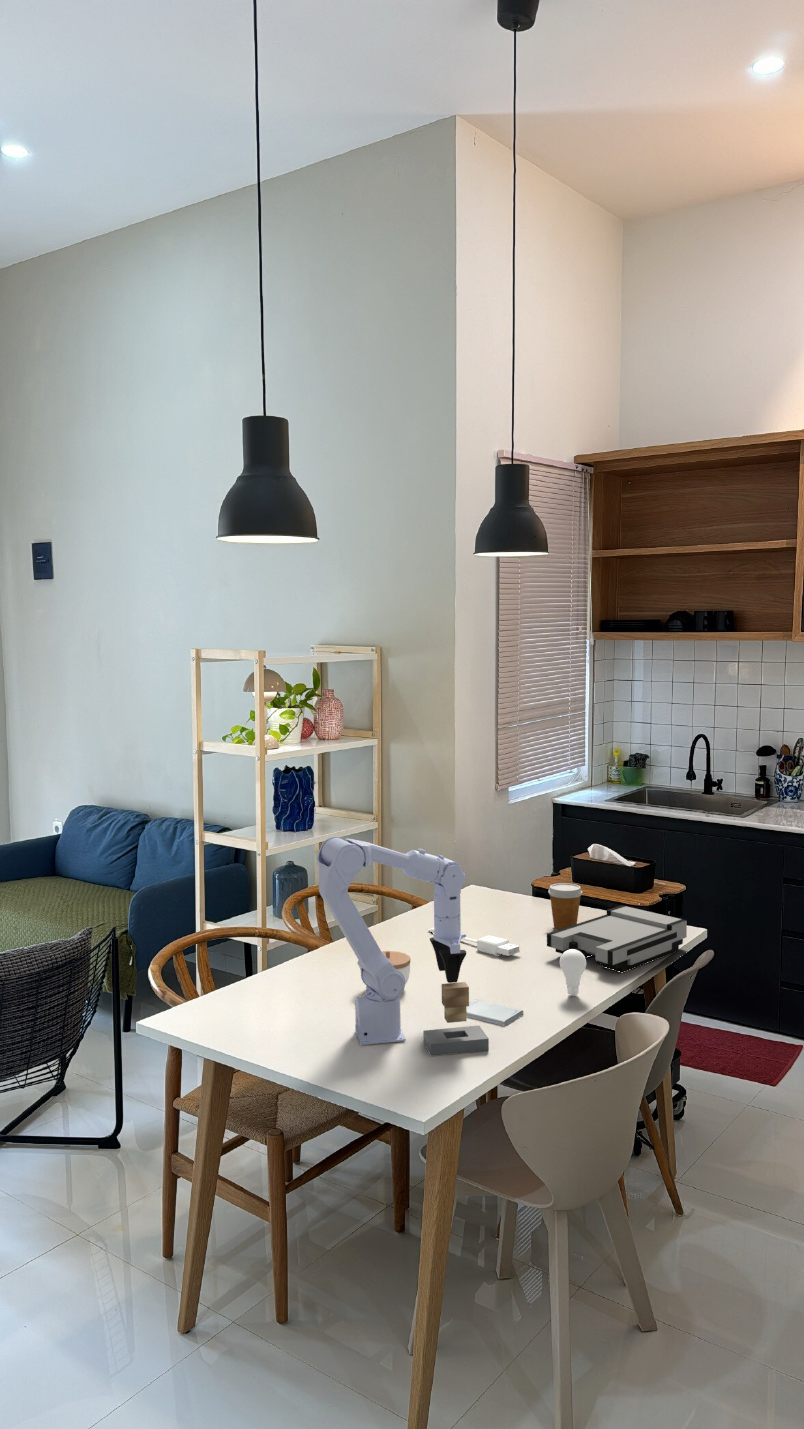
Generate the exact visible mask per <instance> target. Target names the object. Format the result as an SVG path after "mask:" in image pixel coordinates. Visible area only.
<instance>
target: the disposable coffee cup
mask: <svg viewBox="0 0 804 1429" xmlns="http://www.w3.org/2000/svg"><path fill="white" fill-rule="evenodd" d="M582 894H583V890H582V888H581V886H580V885H578V884H575V883H566V882H564V883H563V882H562V883H561V882H559V883H553V884H550V885H549V889H548V895H549V897H550V898H549V899H550V905H551V915H552V922H553V928H555V929H554V930H556V929H558V930H560V929H563V928H566V927H569V926H572V925H575V924H578V919H579V918H578V917H579V910H580V902H581V896H582Z"/></svg>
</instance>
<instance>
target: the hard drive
mask: <svg viewBox="0 0 804 1429" xmlns="http://www.w3.org/2000/svg"><path fill="white" fill-rule="evenodd" d="M466 1012H467V1018H471V1019H475V1020H479V1021H483V1022H487V1023H490V1024H494V1025H498V1026H503V1027H505V1026H507V1025H509V1024H511V1023H512V1022H514V1021H515V1020H517V1019H518V1018H520V1017H522V1016H523V1015H524V1010H522V1009H518V1008H513V1007H509V1006H506V1005H502V1004H497V1003H494V1002H489V1001H485V1000H479V999H473V1000H472V1001H469V1006H466Z"/></svg>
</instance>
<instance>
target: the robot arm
mask: <svg viewBox="0 0 804 1429" xmlns="http://www.w3.org/2000/svg"><path fill="white" fill-rule="evenodd" d="M316 861H317V866H318V891H319V895H320V896H321V898H322V899H323V901H324V903H325V904H326V906H327V908H328V910H329V912H330V913H331V915H332V917H333V919H334V920H335V922H336V924H337V926H338V927H339V929H340V931H341V933H343V934H342V935H344V938H345V940H346V941H347V942H348V944H349V946H350V948H351V949H352V951H353V953H354V955H355V956H356V958H357V965H358V968H360V969H359V970H360V979H361V981H362V984H364V985H365V989H366V990H365V994H363V995H359V996H356V997H355V1001H354V1002H355V1004H354V1006H355V1007H354V1009H355V1012H354V1013H355V1025H354V1026H355V1029H354V1031H355V1034H356V1037H357V1039H358V1041H359V1044H360V1045H361V1046H363V1045H364V1046H365V1045H366V1046H367V1045H377V1044H387V1043H397V1042H398V1043H399V1042H405V1041H406V1037H405V1034H404V1032H403V1031H402V1028H401V994H402V993H403V991H404V990H405V987H406V985H405V978H404V975H403V974H402V973H401V972H400V971H398V970H397V969H395V968H394V967H393V965H392V964H391V962H390V961H389V960H388V959H387V957H386V956H385V955H384V954H383V953H382V952H383V951H382V950H381V948H380V947H379V945H378V943H377V941H376V940H375V937H374V936H373V934H372V932H371V931H370V929H369V927H368V925H367V923H366V922H365V920H364V919H363V917H362V915H361V913H360V911H359V909H358V908H357V906H356V905H355V903H354V900H352V898H351V896H350V894H349V892H348V890H349V888H350V885H351V884H352V883H353V881H354V879H355V878H356V876H357V875H358V874H359V872H360V871H361V870H362V868H368V867H369V866H371V865H372V864H373V863H376V864H380V865H385V866H388V867H394V868H398V869H401V871H402V872H403V874H404V876H406V877H408V878H412V879H416V880H419V881H423V882H427V883H431V884H433V928H434V934H432V936H433V937H430V938H429V941H430V944H431V946H432V948H433V950H434V955H435V958H436V964H437V968H438V970H439V972H443V971H444V973H445V979H446V982H447V983H458V981H459V977H460V972H461V966H462V964H463V962H464V959H465V957H466V956H467V951H466V949H461V941H462V939H461V938H465V937H467V933H466V932H465V931H462V930H461V926H462V925H461V924H462V923H461V893H462V892H461V891H462V890H461V888H462V886H463V884H464V882H465V880H466V873H464V869H463V867H462V866H461V864H460V863H458V862H456V861H453V860H452V859H449V858H446V857H445V856H444V855H442V854H437V856H436V855H433V854H430V853H428V852H427V853H426V850H425V849H423V848H417V849H416V850H415V849H411V850H409V851H408V852H406V853H403V852H399V851H396V850H393V849H390V848H387V847H384V846H380V845H377V844H374V843H371V842H368V841H363V840H357V839H353V838H345V840H344V838H341V837H340V836H330V837H328V838H327V839H325V840H324V841H323V842H322V844H321V846H320V848H319V849H318V853H317V855H316Z"/></svg>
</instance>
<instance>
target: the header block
mask: <svg viewBox="0 0 804 1429" xmlns="http://www.w3.org/2000/svg"><path fill="white" fill-rule="evenodd" d="M422 1034H423V1037H422V1039H423V1045H424V1046H425V1047H426V1049H427V1051H428V1053H429V1055H430V1057H434V1056H435V1057H436V1056H446V1055H455V1054H456V1055H457V1054H466V1053H475V1052H476V1053H477V1052H485V1051H487V1052H488V1051H489V1050H490V1046H489V1044H490V1043H489V1037H488V1036H487V1034H486V1033H485V1032H484V1029H483V1028H482V1027H481V1026H480V1025H469V1026H460V1027H448V1028H437V1029H426V1030H425V1029H424V1030H423V1032H422Z"/></svg>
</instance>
